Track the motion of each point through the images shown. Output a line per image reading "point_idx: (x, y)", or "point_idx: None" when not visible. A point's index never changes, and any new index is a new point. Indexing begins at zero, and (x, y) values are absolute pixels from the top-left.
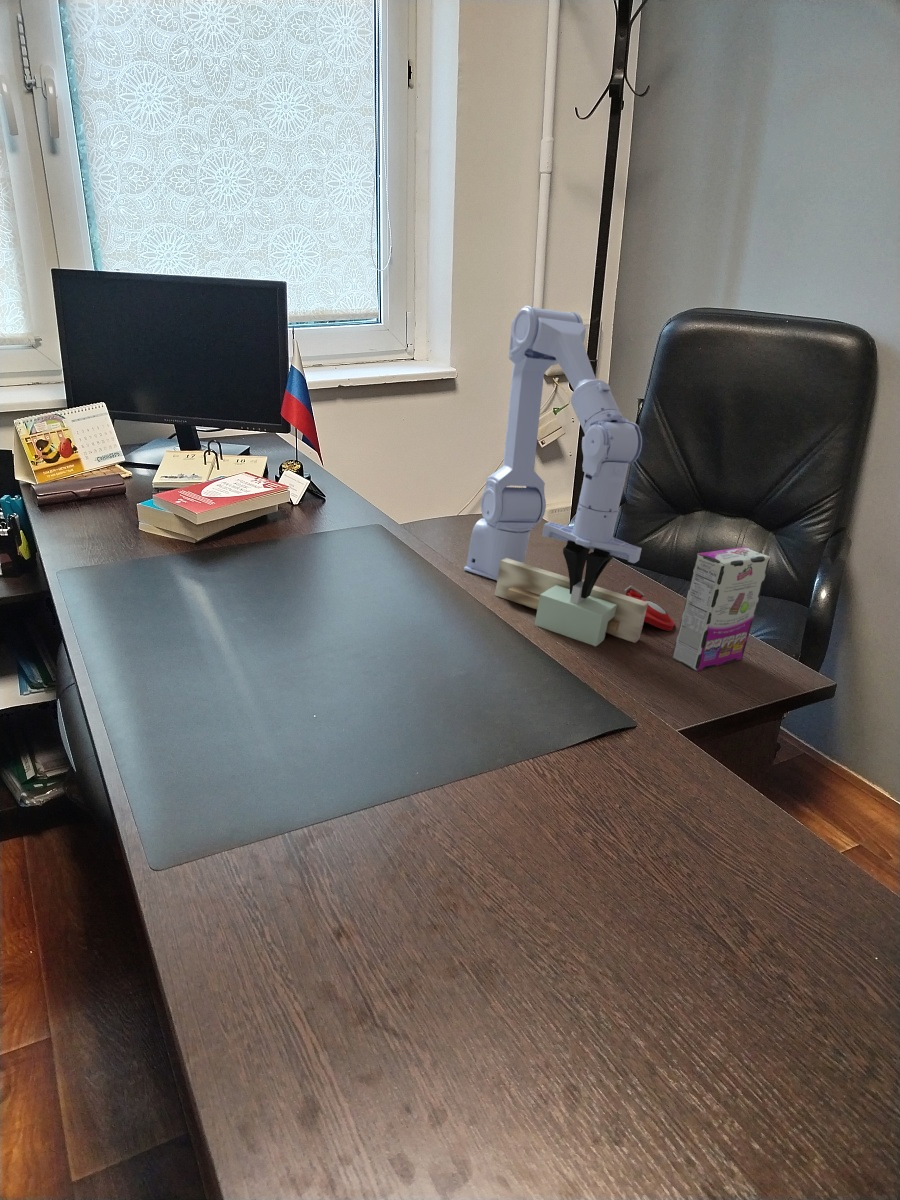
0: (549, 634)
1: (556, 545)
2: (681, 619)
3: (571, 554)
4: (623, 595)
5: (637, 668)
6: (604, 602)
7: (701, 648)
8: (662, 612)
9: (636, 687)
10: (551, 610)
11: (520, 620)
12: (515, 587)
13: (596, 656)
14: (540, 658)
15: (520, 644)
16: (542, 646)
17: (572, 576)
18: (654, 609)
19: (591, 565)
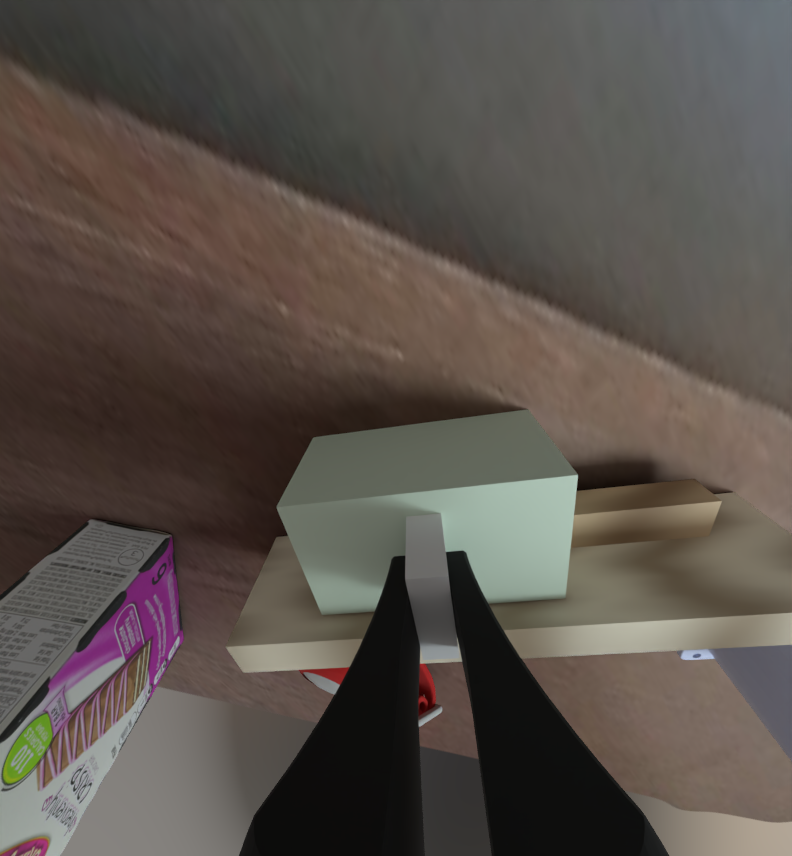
0: (453, 387)
1: (675, 773)
2: (81, 643)
3: (552, 836)
4: (324, 663)
5: (149, 409)
6: (356, 598)
7: (30, 569)
8: (306, 675)
9: (28, 278)
10: (492, 452)
11: (582, 399)
12: (699, 532)
13: (261, 375)
14: (348, 144)
15: (480, 195)
16: (412, 270)
17: (476, 627)
18: (315, 673)
19: (345, 768)
